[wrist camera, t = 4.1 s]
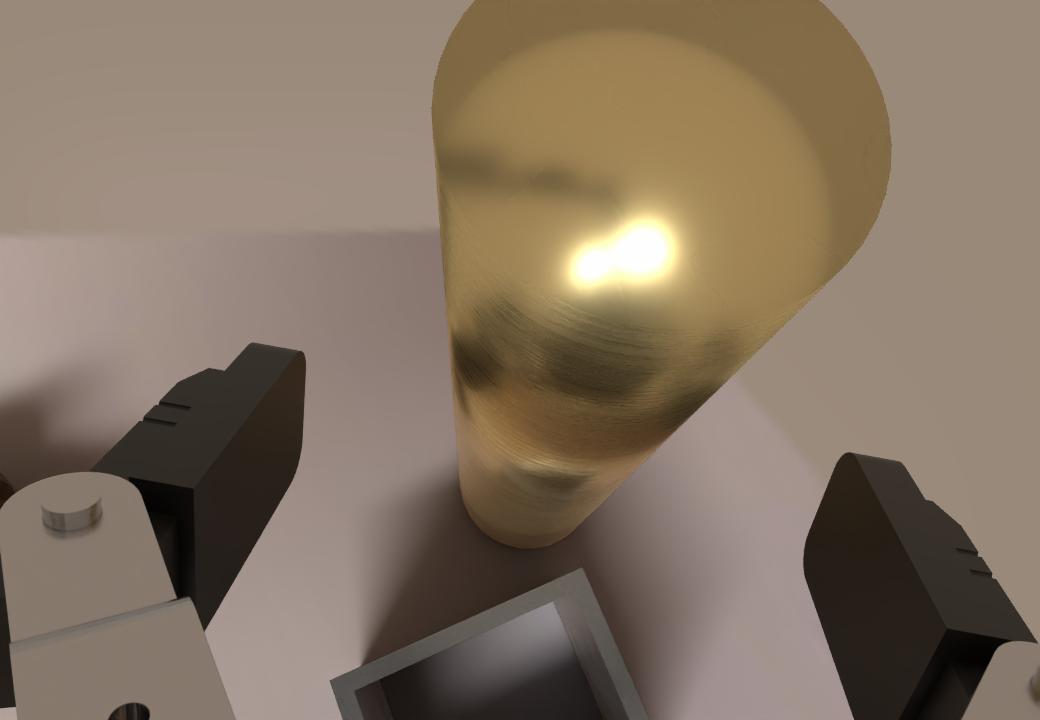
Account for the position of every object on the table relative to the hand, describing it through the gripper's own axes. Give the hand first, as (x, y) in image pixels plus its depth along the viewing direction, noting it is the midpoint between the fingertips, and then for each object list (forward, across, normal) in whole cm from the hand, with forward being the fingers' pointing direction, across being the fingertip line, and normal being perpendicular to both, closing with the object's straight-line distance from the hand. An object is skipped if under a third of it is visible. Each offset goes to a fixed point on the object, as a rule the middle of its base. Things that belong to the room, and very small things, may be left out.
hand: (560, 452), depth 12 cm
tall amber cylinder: (+10, 0, +7) cm, 12 cm away
